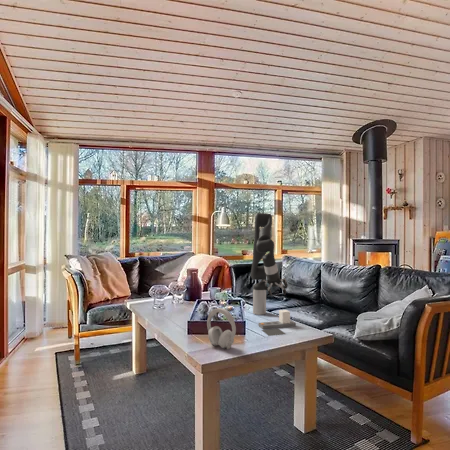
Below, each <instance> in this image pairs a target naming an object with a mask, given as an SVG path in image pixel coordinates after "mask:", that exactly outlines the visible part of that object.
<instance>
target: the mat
mask: <svg viewBox="0 0 450 450" xmlns="http://www.w3.org/2000/svg"><path fill="white" fill-rule="evenodd" d="M261 331H262V332H263V333H264V334H266V335H267V336H268V337H270V336H272V337H273V336H280V335H281V336H282V335H287V333H286V332H284V331H282V330H281V328H272V329H261Z"/></svg>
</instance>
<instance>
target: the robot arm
mask: <svg viewBox="0 0 450 450" xmlns="http://www.w3.org/2000/svg"><path fill="white" fill-rule="evenodd" d="M272 226H273V216H272V214H271V213H268V212H266V213H264V212H263V213H262V212H257V213H255V217H254V238H253V246H252V247H253V250H252V262H251V263H252V264H251V268H250V269H251V270H250V277H251V279H252V280H255V281H256V280H257V281H259V280H260V281H259V282H257V283H254V284H253V286H252V291H253V292H252V314H254V315H258V316H259V315H266V313H267V293H268V295H269V296H273V293H272V289H271V288H272V287H273V288H275V287H279V288H281V289H282V293H283V296H285V295H286V294H287V289H288V287H289V286H288V282H287V279H286V277H283V278H281V276H280V273H279V272H280V271H279V269H278V265H277V263H276V259H275V242H274V241H273V240H272V237H271V232H272ZM261 260H262V263H263V266H259V264H260V262H261ZM267 284H268V285H267Z"/></svg>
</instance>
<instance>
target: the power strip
mask: <svg viewBox="0 0 450 450" xmlns="http://www.w3.org/2000/svg"><path fill="white" fill-rule="evenodd" d="M257 325H258V327H259V328H260V329H261V330H269V329H281V328H282V329H283V328H292V327H297V323H296V322H295V321H293V320H291V319H290V323H285V324H282V323H281V322H279V320H276V321H264V322H263V321H262V322H258V323H257Z"/></svg>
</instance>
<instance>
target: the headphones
mask: <svg viewBox="0 0 450 450" xmlns="http://www.w3.org/2000/svg"><path fill="white" fill-rule="evenodd" d="M217 313H220V314H222V315H224V316H225V318H226V319H227V320H228V322H229V324H230V325H231V330H230V329H226V330H224V331H223V330H222V328H221V327H220V326H218V325H215V326H212V325H211V322H212V319H213V317H214V316H215V315H216V314H217ZM206 326H207V328H206V329H207V331H208V332H207V333H208V334H207V335H208V341H209V342H210V344H211V345H212V346H220V347H221V348H222V349H226V350H230V349H231V347H232V345H233V344H234V342H235V337H236V333H237V327H236V323H235V319H234V316H233V315H232V314H231V313H230V311H229V310H227V309H225V308H222V307H218V308H215V309H212V310H211V311H210V312H209V314H208V316H207V320H206Z"/></svg>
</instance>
